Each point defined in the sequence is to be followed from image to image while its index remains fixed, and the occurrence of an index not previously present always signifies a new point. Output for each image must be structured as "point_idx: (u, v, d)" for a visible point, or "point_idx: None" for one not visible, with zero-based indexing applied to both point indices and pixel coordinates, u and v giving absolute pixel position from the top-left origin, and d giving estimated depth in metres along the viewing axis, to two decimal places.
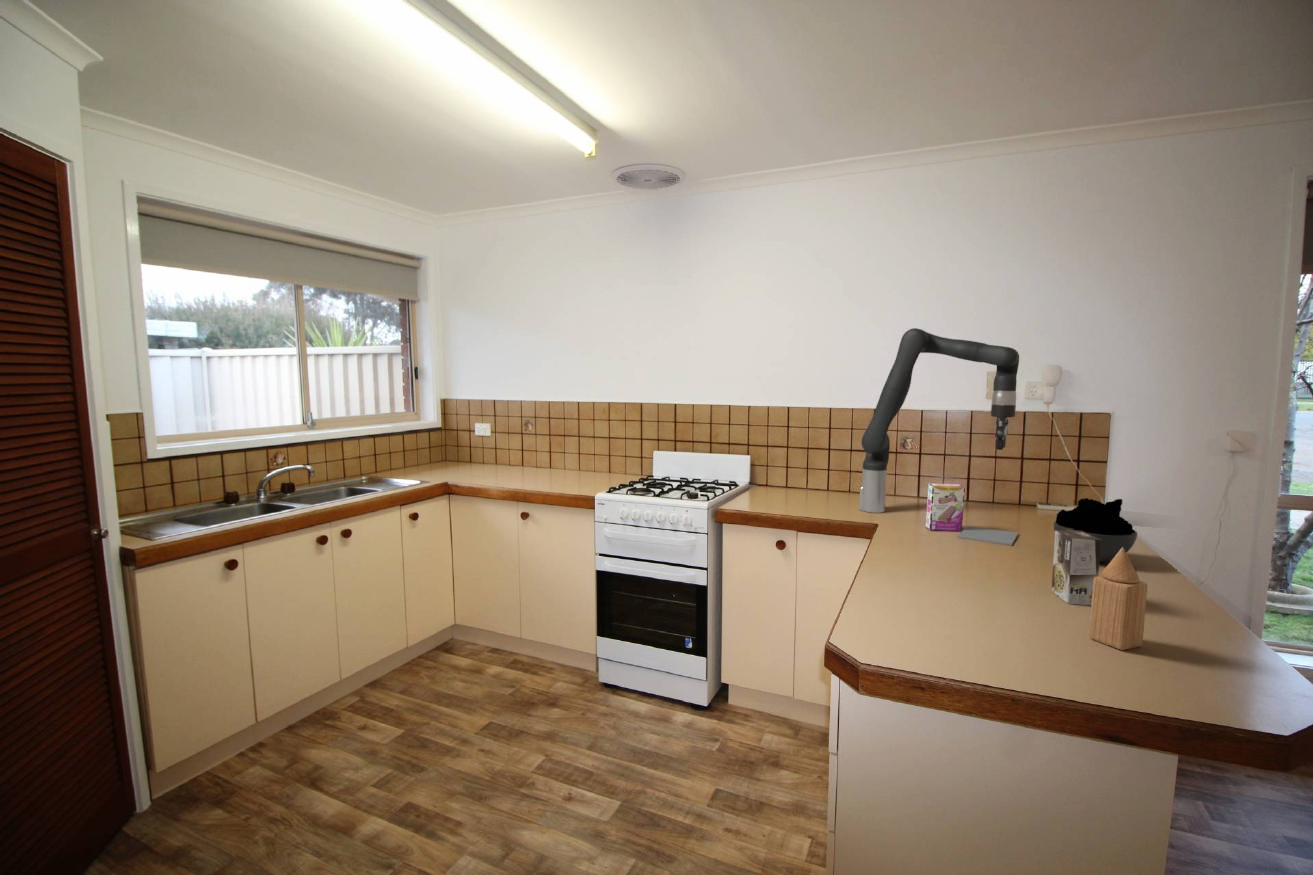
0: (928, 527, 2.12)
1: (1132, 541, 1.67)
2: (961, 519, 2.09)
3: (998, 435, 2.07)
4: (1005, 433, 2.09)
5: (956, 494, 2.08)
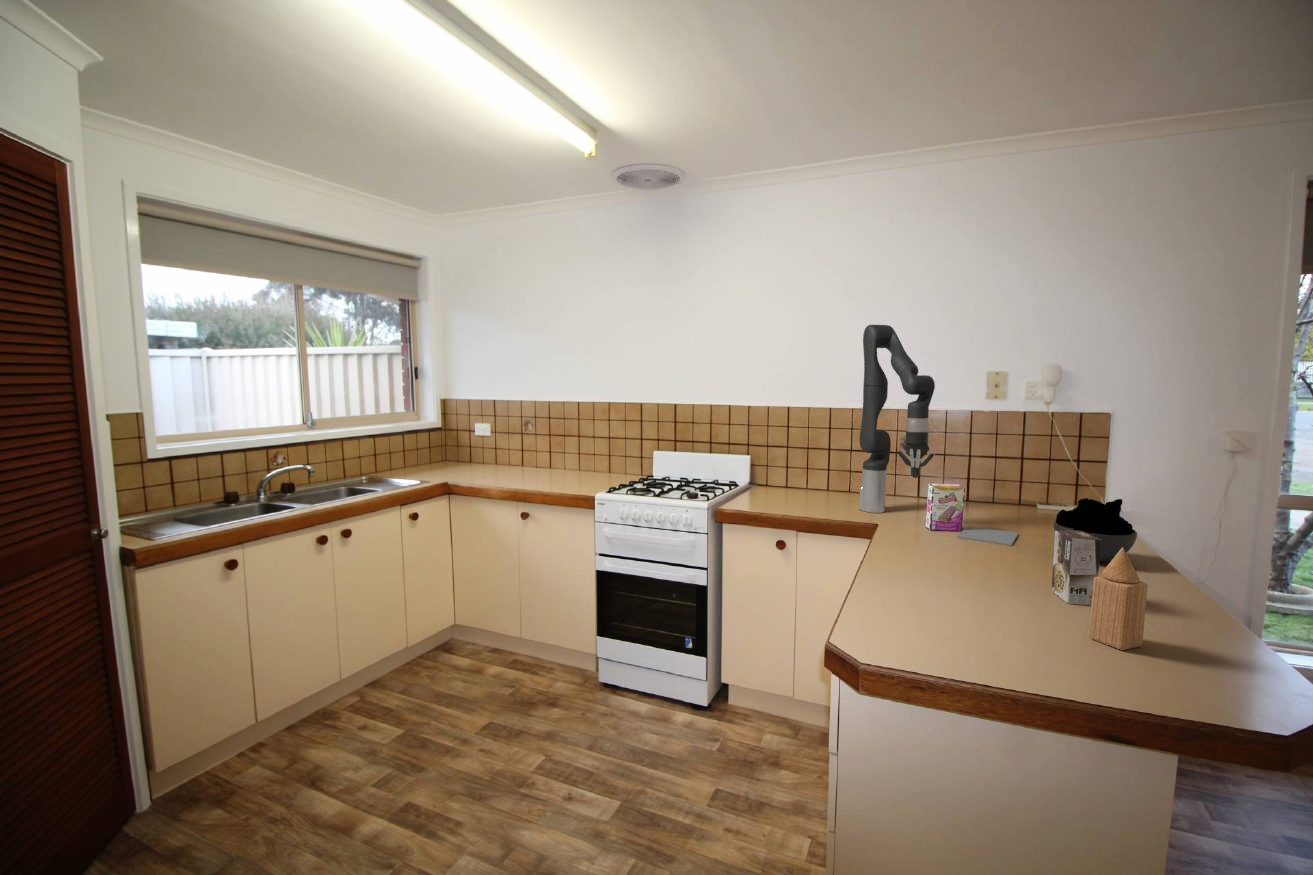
0: (928, 527, 2.12)
1: (1132, 541, 1.67)
2: (961, 519, 2.09)
3: None
4: None
5: (956, 494, 2.08)
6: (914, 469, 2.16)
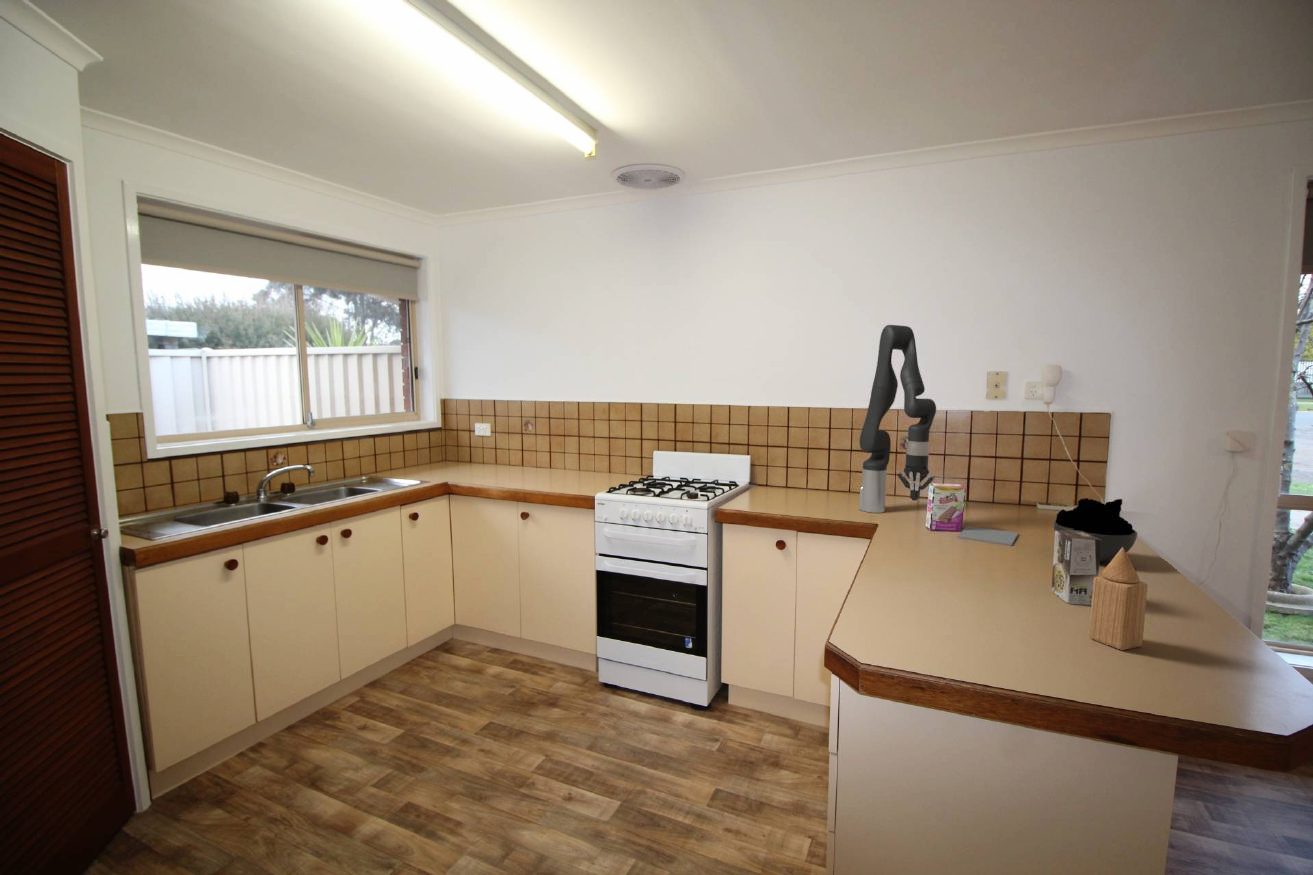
0: (928, 527, 2.12)
1: (1132, 541, 1.67)
2: (961, 519, 2.09)
3: None
4: None
5: (957, 494, 2.08)
6: (913, 492, 2.16)
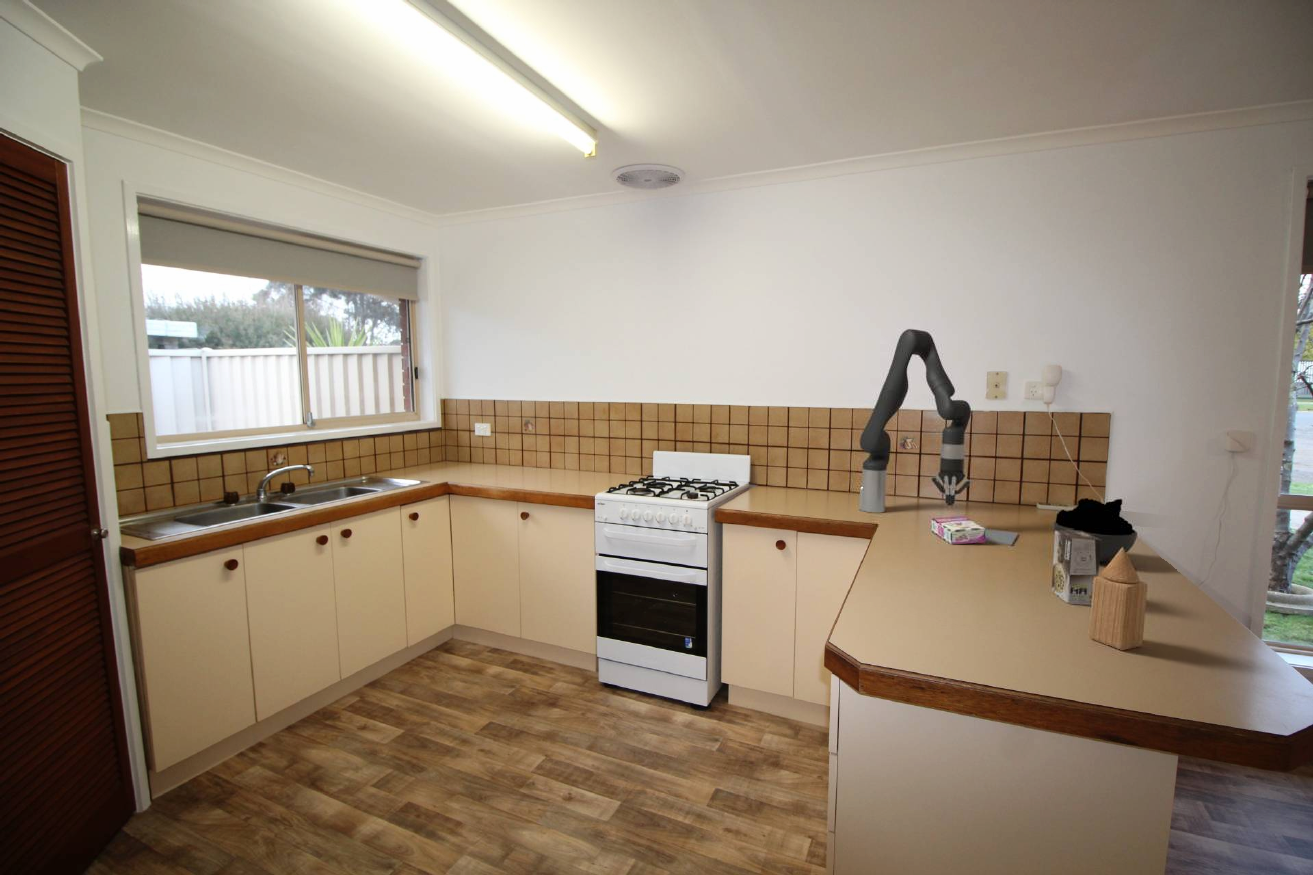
0: (932, 527, 2.08)
1: (1132, 541, 1.67)
2: None
3: None
4: None
5: None
6: (949, 497, 2.09)
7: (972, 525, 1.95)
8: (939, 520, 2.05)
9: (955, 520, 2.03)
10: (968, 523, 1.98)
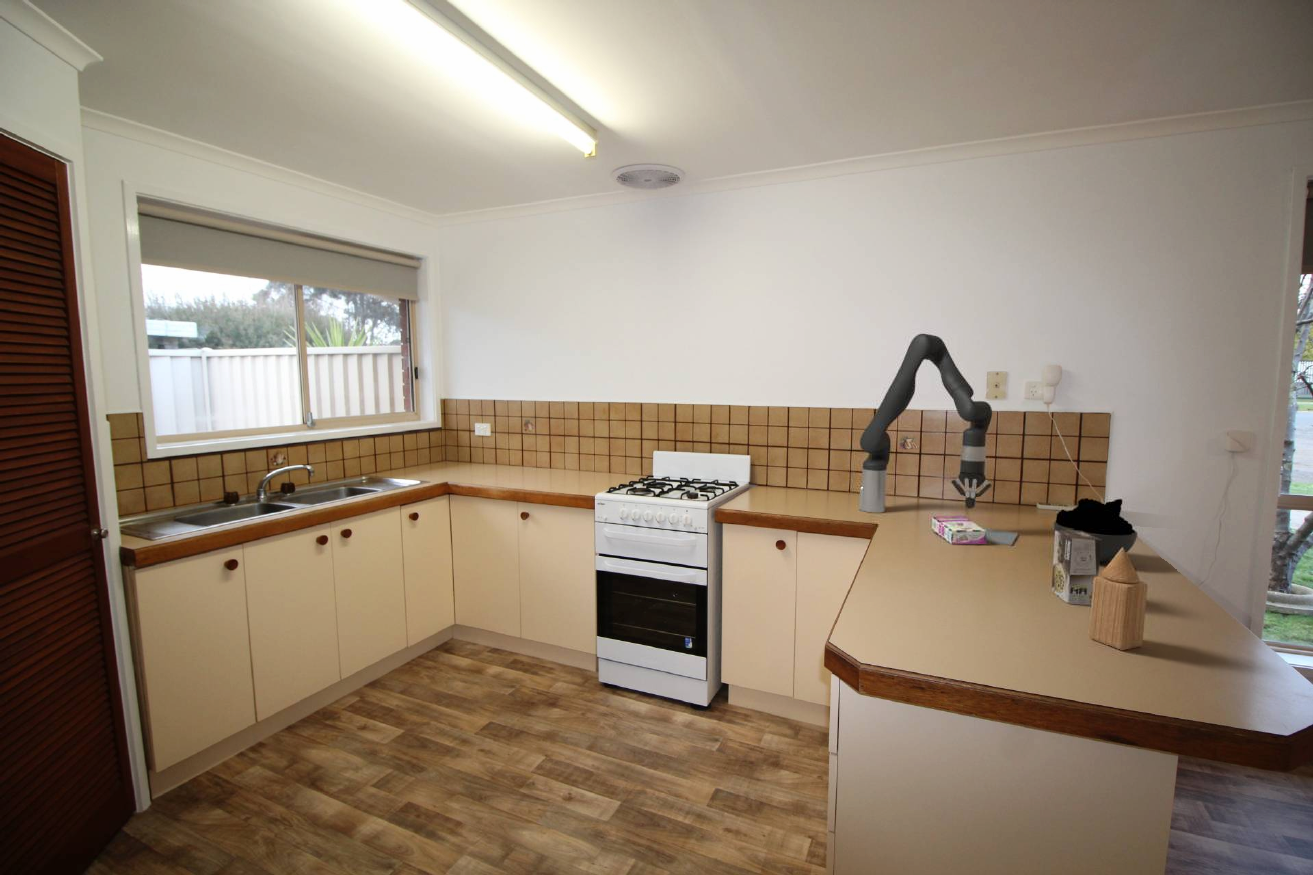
0: (932, 525, 2.08)
1: (1132, 541, 1.67)
2: None
3: None
4: None
5: None
6: (969, 499, 2.05)
7: (973, 526, 1.95)
8: (941, 519, 2.04)
9: (956, 520, 2.02)
10: (969, 524, 1.98)
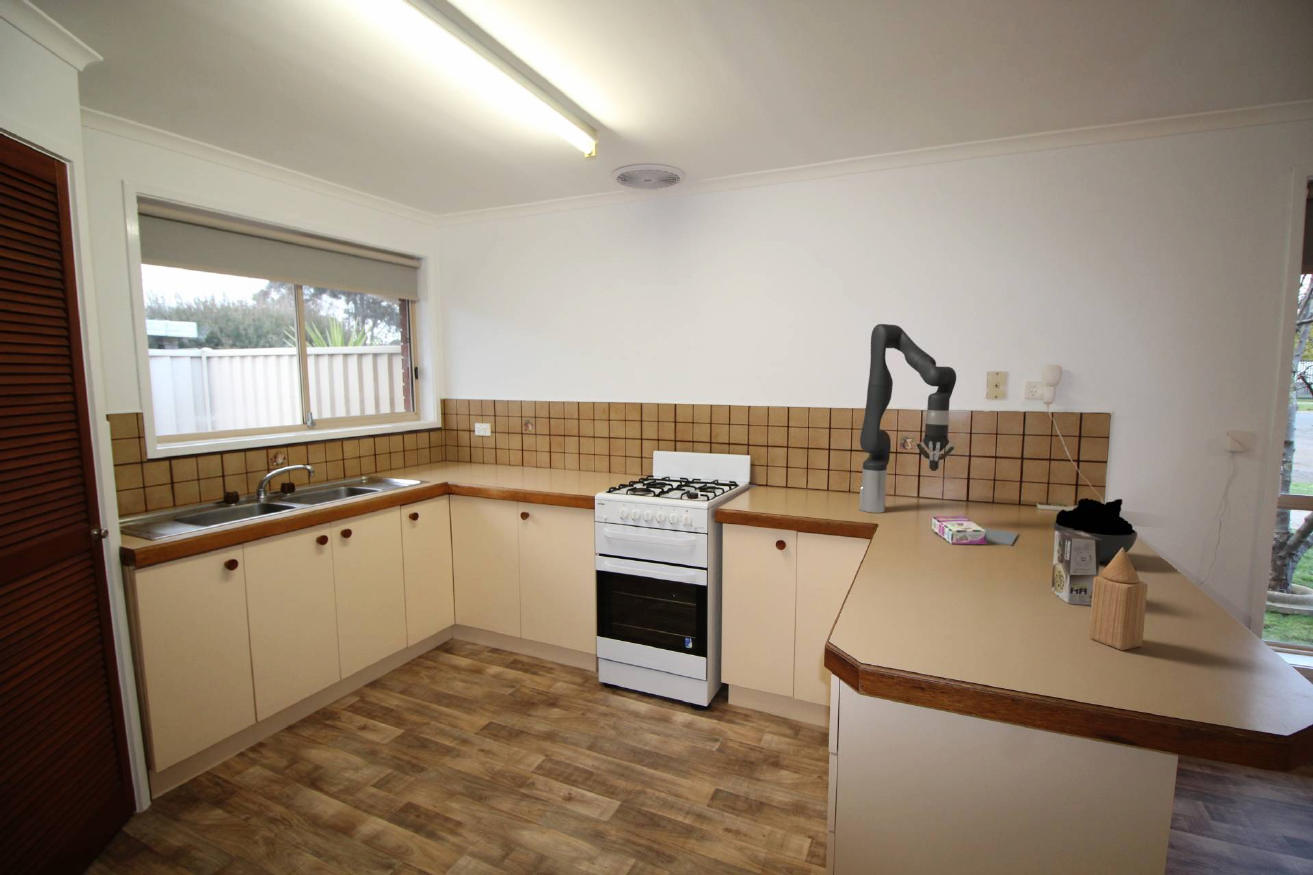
0: (932, 525, 2.08)
1: (1132, 541, 1.67)
2: None
3: None
4: None
5: None
6: (933, 462, 2.12)
7: (973, 526, 1.95)
8: (941, 519, 2.04)
9: (956, 520, 2.02)
10: (969, 524, 1.98)
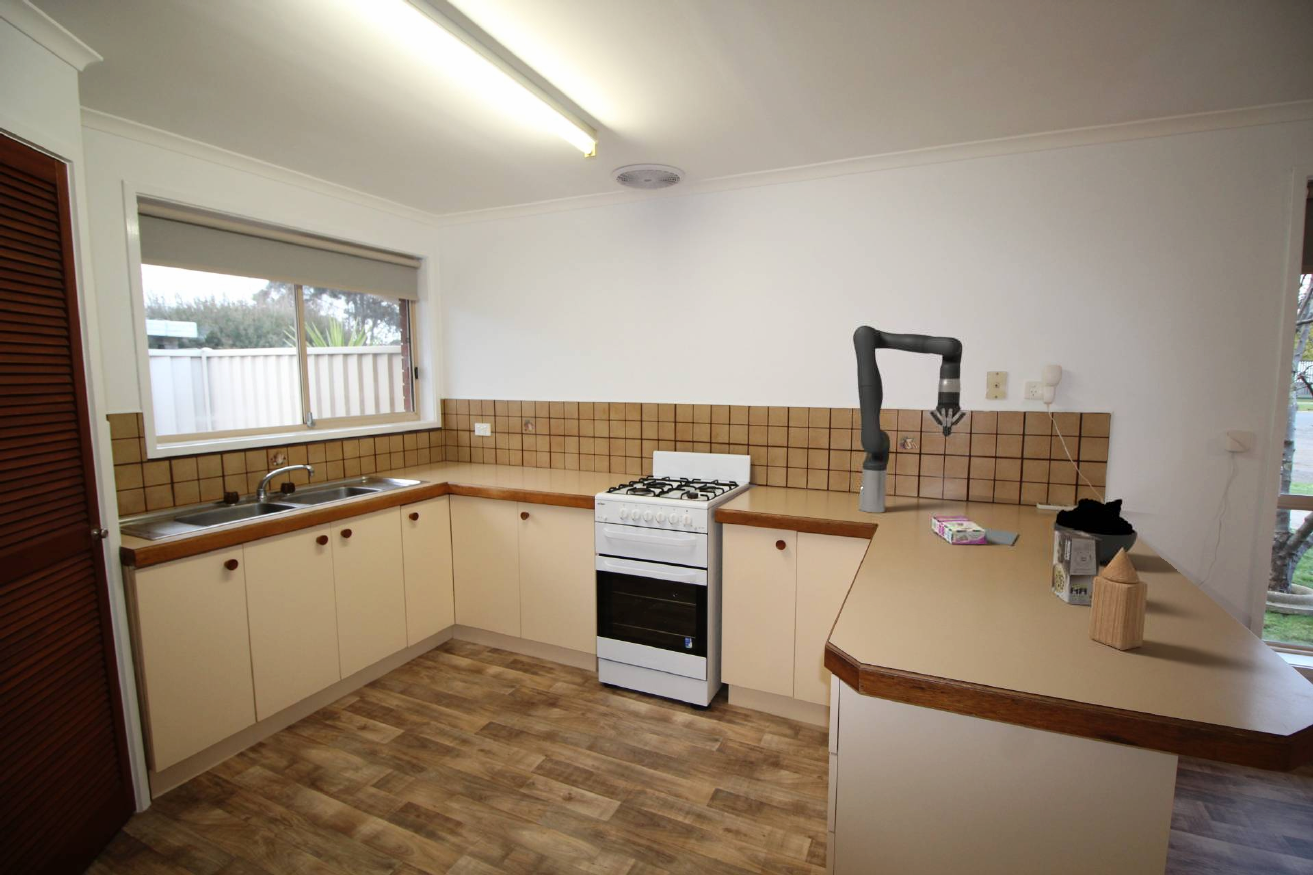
0: (932, 525, 2.08)
1: (1132, 541, 1.67)
2: None
3: None
4: None
5: None
6: (946, 428, 2.25)
7: (973, 526, 1.95)
8: (941, 519, 2.04)
9: (956, 520, 2.02)
10: (969, 524, 1.98)
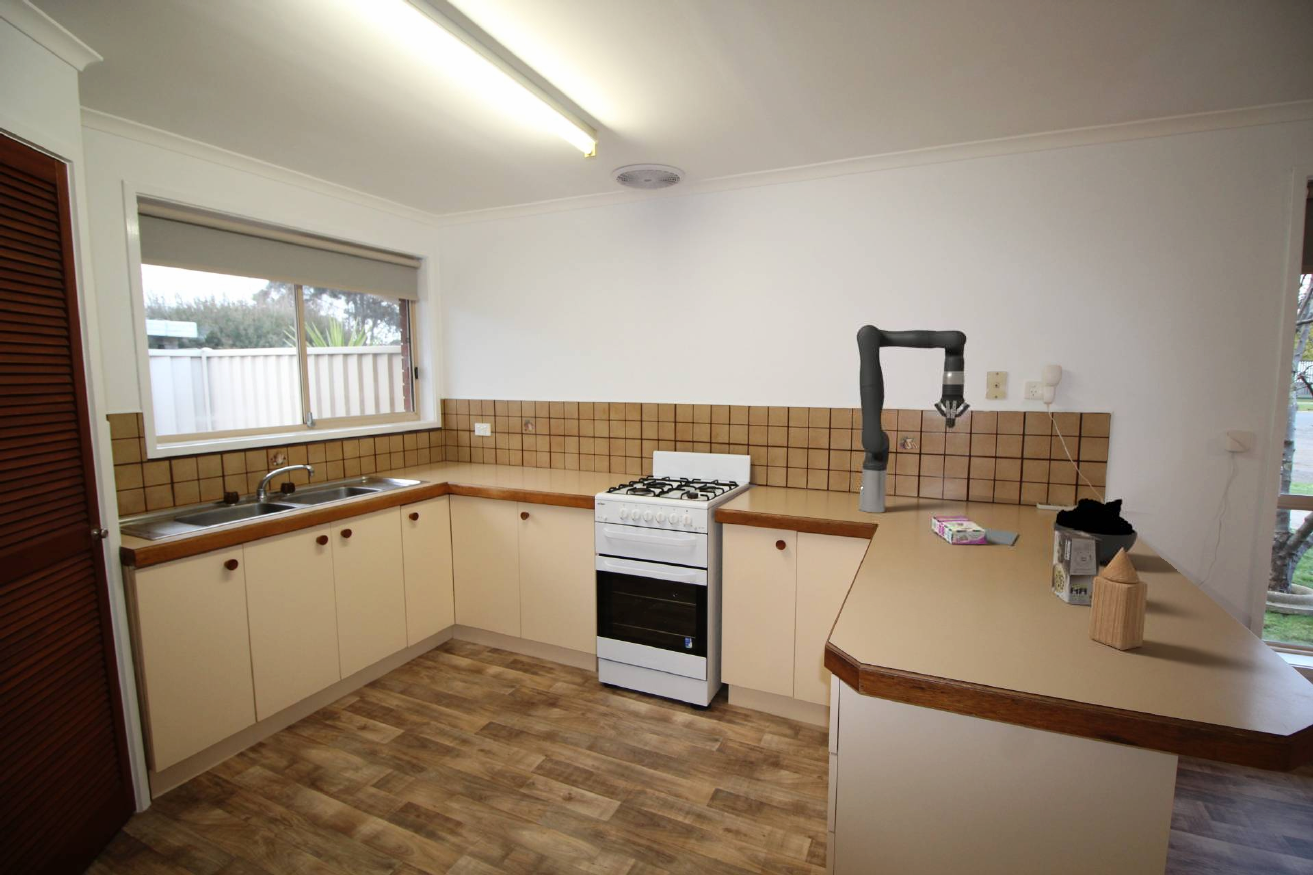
0: (932, 525, 2.08)
1: (1132, 541, 1.67)
2: None
3: None
4: None
5: None
6: (950, 420, 2.29)
7: (973, 526, 1.95)
8: (941, 519, 2.04)
9: (956, 520, 2.02)
10: (969, 524, 1.98)
